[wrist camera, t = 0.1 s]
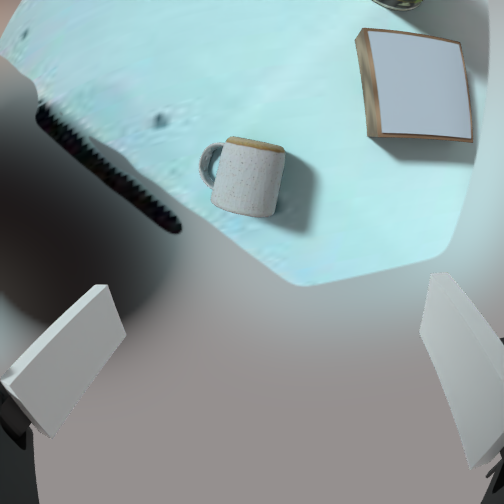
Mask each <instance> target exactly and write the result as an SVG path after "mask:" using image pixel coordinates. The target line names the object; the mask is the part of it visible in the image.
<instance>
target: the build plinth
mask: <svg viewBox="0 0 504 504" xmlns="http://www.w3.org/2000/svg"><path fill="white" fill-rule="evenodd" d="M355 44H356V49H357V55H358V61H359V67H360V74H361V80H362V88H363V96H364V104H365V114H366V124H367V136H370V137H398V138H422V139H437V140H450V141H461V142H470V143H473V129H472V115H471V104H470V95H469V87H468V81H467V74H466V68H465V63H464V58H463V53H462V48H461V44H460V42H457V41H453V40H448V39H444V38H439V37H434V36H429V35H423V34H417V33H410V32H403V31H394V30H385V29H372V28H362V30H361V31H360V33H359V34H358V36H357V38H356V39H355Z"/></svg>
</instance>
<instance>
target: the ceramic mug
mask: <svg viewBox="0 0 504 504" xmlns="http://www.w3.org/2000/svg"><path fill="white" fill-rule="evenodd" d="M218 147H223V149H222V152H221V156H220V162H219V167H218V171H217V174H216V178H215V182H213V181H212V180H211V178H210V176H209V174H208V166H209V162H210V159H211V156H212V155H213V151H214V150H215V149H217V148H218ZM284 165H285V150H284V149H283V147H281V146H278V145H273V144H269V143H265V142H260V141H255V140H250V139H245V138H239V137H234V136H233V137H230V138H228V139H227V140H226V142H225V143H213V144H210V145H209V146H208V147H207V148H206V149H205V150H204V151H203V153H202V155H201V158H200V161H199V173H200V176H201V178H202V180H203V182H204V183H205V184H206V185H207V186H208V187H210V188H211V189H213V191H212V195H211V202H212V203H213V204H214V205H215V206H217V207H219V208H221V209H223V210H226V211H228V212H232V213H236V214H240V215H246V216H251V217H268V216H271V215H273V214H274V212H275V208H276V203H277V198H278V194H279V189H280V184H281V179H282V174H283V170H284Z"/></svg>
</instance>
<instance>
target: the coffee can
mask: <svg viewBox="0 0 504 504" xmlns="http://www.w3.org/2000/svg"><path fill="white" fill-rule="evenodd" d="M373 1H374V2H376V3H378V4H380V5H382V6H384V7H387V8H390V9H393V10H400V11H406V10H412V9H414V8H416V7H418V6H419V5H420V4H421V2H422V1H423V0H373Z"/></svg>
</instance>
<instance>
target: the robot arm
mask: <svg viewBox="0 0 504 504" xmlns="http://www.w3.org/2000/svg"><path fill="white" fill-rule="evenodd" d="M419 334H420V336H421V338H422V340H423V342H424V345H425V347H426V349H427V351H428V354H429V356H430V358H431V360H432V363H433V365H434V368H435V370H436V372H437V375H438V377H439V380H440V382H441V385H442V387H443V390H444V392H445V395H446V398H447V400H448V403H449V406H450V409H451V411H452V414H453V417H454V420H455V423H456V426H457V429H458V432H459V435H460V438H461V442H462V445H463V448H464V451H465V455H466V459H467V462H468V466H469V470H471V469H474V468H476V467H479V466H481V465H484V464H487V463H489V462H490V461H491V460H492V459H493V458H494V457H495V456H496V455H497V454H498V453H499V452H500V454H501V457H502V459H501V460H500V461H499V462H498V463H497V464H496V465H495V466H494V467H493V468H492V469H491V470H490V471H489V472H488V474H487V475H486V478H488V477H490V476H491V475H492V474H493V473H494V472H495V473H494V475H493V478H492V480H491V483H490V485H489V487H488V489H487V492H486V494H485V496H484V498H483V500H482V502H481V504H504V338H500V339H499V338H498V336H497V335H496V333H495V332H494V330H493V329H492V328H491V327H490V325H489V324H488V322H487V321H486V319H485V318H484V317H483V316H482V314H481V313H480V311H479V310H478V309H477V308H476V306H475V305H474V304H473V302H472V301H471V300H470V299H469V297H468V296H467V295H466V294H465V292H464V291H463V290H462V289H461V288H460V286H459V285H458V284H457V283H456V282H455V280H454V279H453V278H452V277H451V276H450V275H449V273H447V272H444V273H433V274H431V275H430V282H429V288H428V293H427V299H426V304H425V308H424V313H423V317H422V322H421V326H420V330H419ZM125 337H126V333H125V330H124V328H123V325H122V323H121V320H120V318H119V315H118V312H117V310H116V307H115V304H114V302H113V299H112V296H111V293H110V290H109V288H108V285H94V286H93V287H92V288H91V289H90V290H89V291H88V292H87V293H85V294H84V295H83V296H82V297H81V298H80V299H79V300H78V301H77V302H76V303H74V305H72V306H71V307H70V308H69V309H68V310H67V311H66V312H65V313H64V314H63V315H62V316H61V317H60V318H58V319H57V320H56V321H55V322H54V323H53V324H52V325H51V326H50V327H49V328H48V329H47V330H46V331H45V332H44V333H43V334H42V335H41V336H40V337H39V338H38V339H37V340H36V341H35V342H34V343H33V344H32V345H31V346H30V347H29V348H28V349H27V350H26V351H25V352H24V353H23V354H22V355H21V356H20V357H19V358H18V359H17V361H16V362H15V363H14V364H13V365H12V366H11V367H10V368H9V369H8V370H7V371H6V372H5V374H4V375H3V376H2V377H1V378H0V504H39V499H38V491H37V484H36V475H35V464H34V448H33V432H32V430H31V428H30V427H29V425H30V424H31V423H32V424H33V425H34V426H35V427H36V428H37V429H38V431H39V432H40V433H42V434H44V435H46V436H47V437H49V438H51V439H53V438H54V436H55V435H56V433H57V432H58V430H59V429H60V427H61V426H62V424H63V423H64V421H65V420H66V418H67V417H68V415H69V414H70V412H71V411H72V410H73V408H74V407H75V405H76V404H77V402H78V401H79V400H80V398H81V397H82V395H83V394H84V392H85V391H86V389H87V388H88V387H89V385H90V384H91V382H92V381H93V380H94V378H95V377H96V376H97V374H98V373H99V372H100V370H101V369H102V367H103V366H104V365H105V363H106V362H107V360H108V359H109V358H110V356H111V355H112V353H113V352H114V351H115V350H116V348H117V347H118V346H119V344H120V343H121V342H122V340H123V339H124V338H125Z"/></svg>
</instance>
